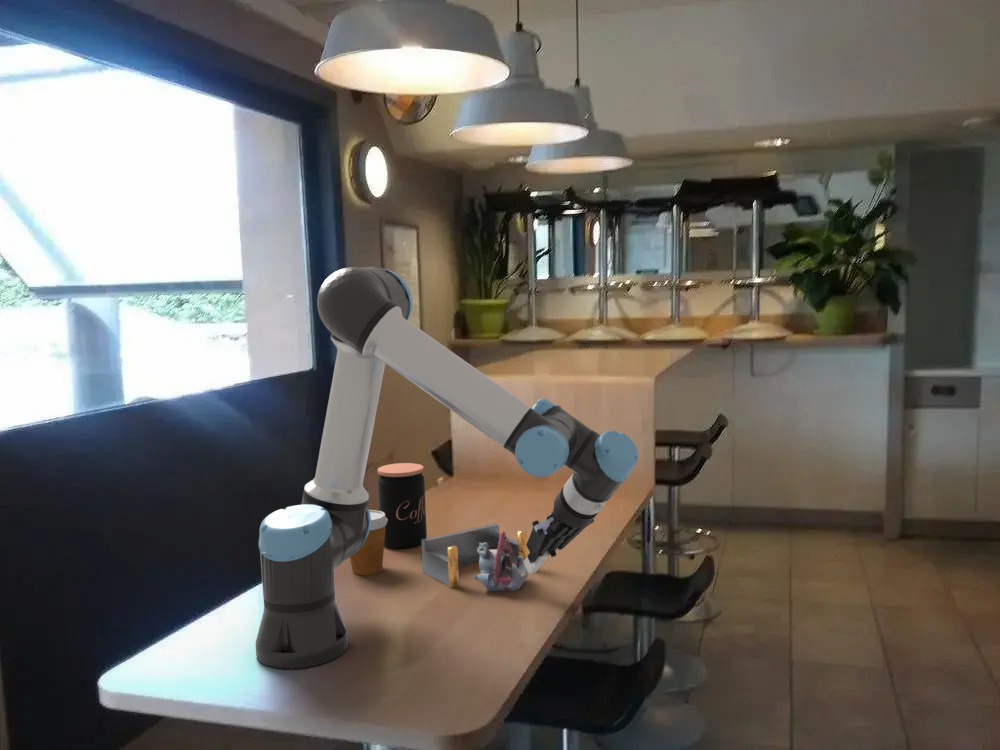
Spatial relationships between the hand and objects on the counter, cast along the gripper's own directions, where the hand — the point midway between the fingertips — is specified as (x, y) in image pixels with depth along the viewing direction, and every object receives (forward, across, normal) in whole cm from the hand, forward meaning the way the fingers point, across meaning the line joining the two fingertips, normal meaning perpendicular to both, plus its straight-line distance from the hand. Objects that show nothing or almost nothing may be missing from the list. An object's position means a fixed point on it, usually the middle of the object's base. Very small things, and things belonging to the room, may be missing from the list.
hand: (529, 567), depth 168 cm
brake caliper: (+10, -1, +2) cm, 10 cm away
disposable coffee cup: (+27, -19, +20) cm, 39 cm away
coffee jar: (+36, -4, +28) cm, 46 cm away
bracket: (+17, -1, +9) cm, 19 cm away
